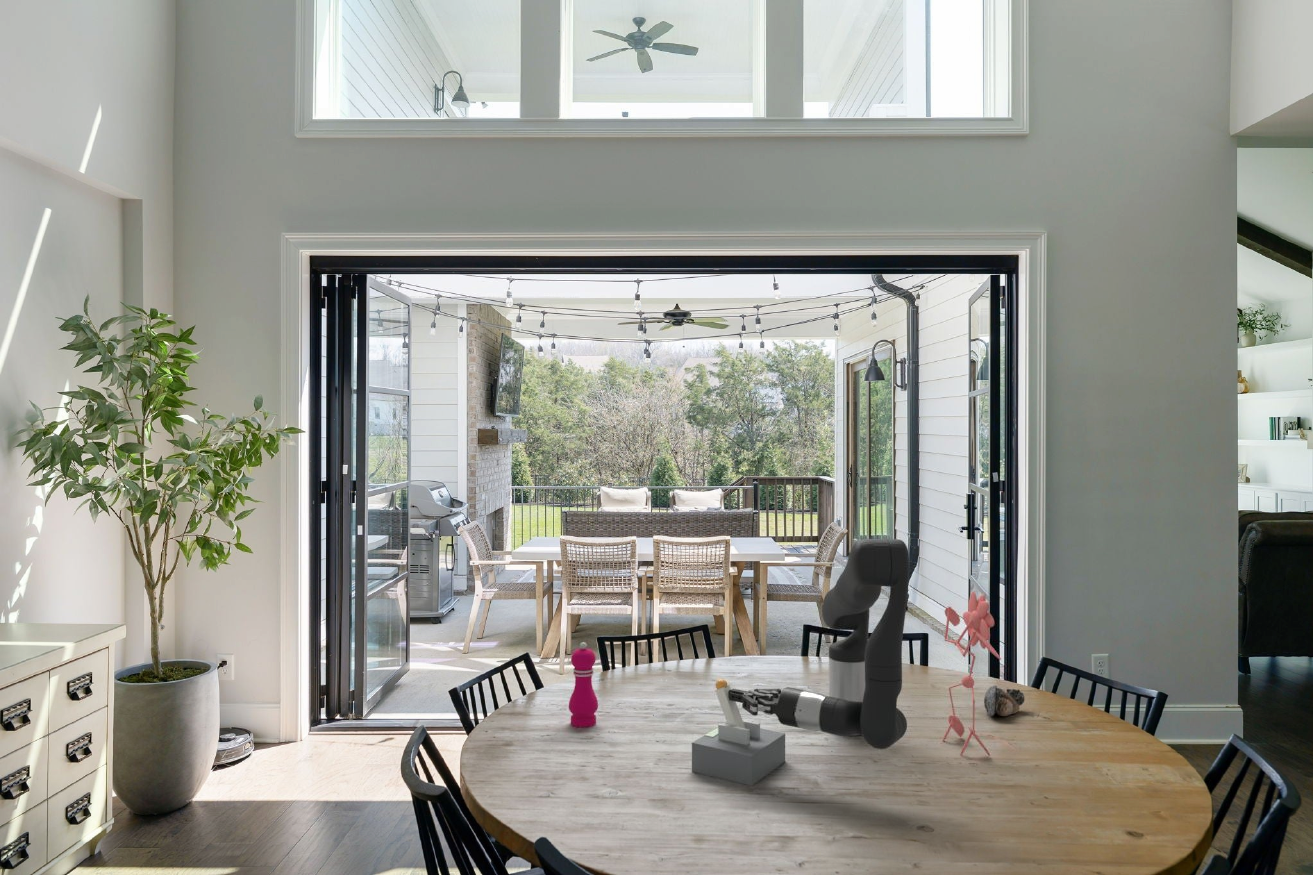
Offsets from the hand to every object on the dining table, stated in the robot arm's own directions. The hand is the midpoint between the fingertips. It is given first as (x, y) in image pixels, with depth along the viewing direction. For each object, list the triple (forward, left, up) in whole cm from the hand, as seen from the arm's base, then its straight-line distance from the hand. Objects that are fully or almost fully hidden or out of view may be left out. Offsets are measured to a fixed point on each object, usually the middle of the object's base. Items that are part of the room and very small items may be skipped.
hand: (730, 694), depth 184 cm
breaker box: (-1, +2, -15) cm, 15 cm away
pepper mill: (+22, -37, -15) cm, 46 cm away
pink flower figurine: (-57, +12, -15) cm, 60 cm away
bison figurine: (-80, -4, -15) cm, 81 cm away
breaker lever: (-1, +2, -8) cm, 8 cm away
